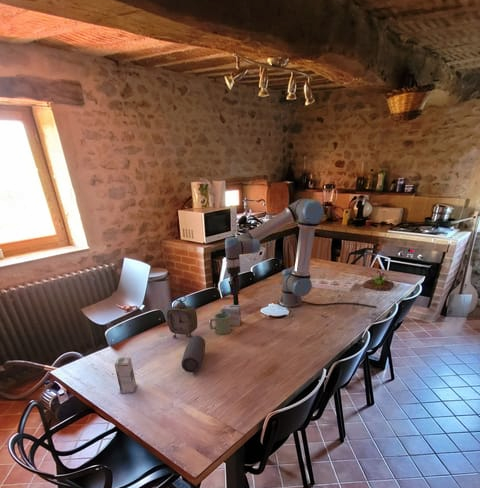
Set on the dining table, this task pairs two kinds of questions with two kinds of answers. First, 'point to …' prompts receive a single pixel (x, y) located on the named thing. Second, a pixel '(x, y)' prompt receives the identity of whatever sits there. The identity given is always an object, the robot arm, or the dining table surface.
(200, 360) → the bluetooth speaker
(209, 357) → the dining table surface
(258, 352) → the dining table surface
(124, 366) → the syrup box
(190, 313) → the tabletop clock
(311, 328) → the dining table surface
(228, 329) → the mug
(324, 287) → the holder
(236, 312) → the light bulb box
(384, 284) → the plant
